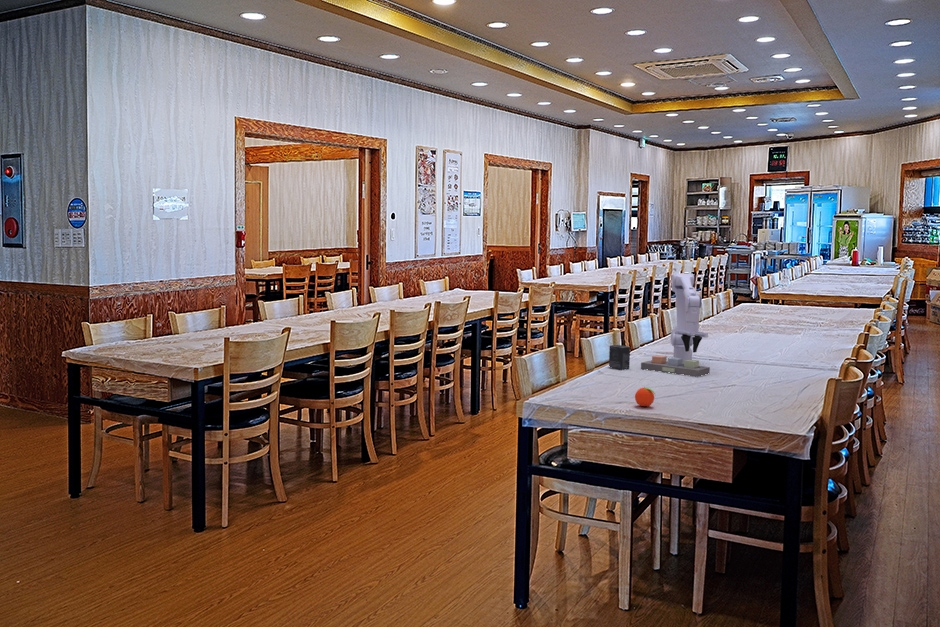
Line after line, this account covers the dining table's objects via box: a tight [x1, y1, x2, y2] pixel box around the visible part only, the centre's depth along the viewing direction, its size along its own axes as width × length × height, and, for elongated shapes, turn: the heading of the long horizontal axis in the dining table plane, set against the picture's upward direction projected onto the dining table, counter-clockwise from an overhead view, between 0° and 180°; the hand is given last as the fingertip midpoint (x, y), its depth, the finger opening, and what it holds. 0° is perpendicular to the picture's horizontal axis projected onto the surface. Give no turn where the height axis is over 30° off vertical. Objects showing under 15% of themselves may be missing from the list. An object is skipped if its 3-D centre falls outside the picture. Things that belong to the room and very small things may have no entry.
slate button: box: [667, 356, 683, 366], centre depth 377 cm, size 5×5×4 cm
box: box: [608, 344, 631, 371], centre depth 382 cm, size 8×6×11 cm
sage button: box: [684, 359, 700, 369], centre depth 372 cm, size 5×5×4 cm
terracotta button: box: [651, 354, 668, 364], centre depth 382 cm, size 5×5×4 cm
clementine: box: [634, 386, 656, 407], centre depth 300 cm, size 8×7×7 cm
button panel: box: [640, 359, 711, 377], centre depth 377 cm, size 12×28×3 cm, turn 49°
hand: (690, 351), depth 375 cm, fingers open, 3 cm apart
